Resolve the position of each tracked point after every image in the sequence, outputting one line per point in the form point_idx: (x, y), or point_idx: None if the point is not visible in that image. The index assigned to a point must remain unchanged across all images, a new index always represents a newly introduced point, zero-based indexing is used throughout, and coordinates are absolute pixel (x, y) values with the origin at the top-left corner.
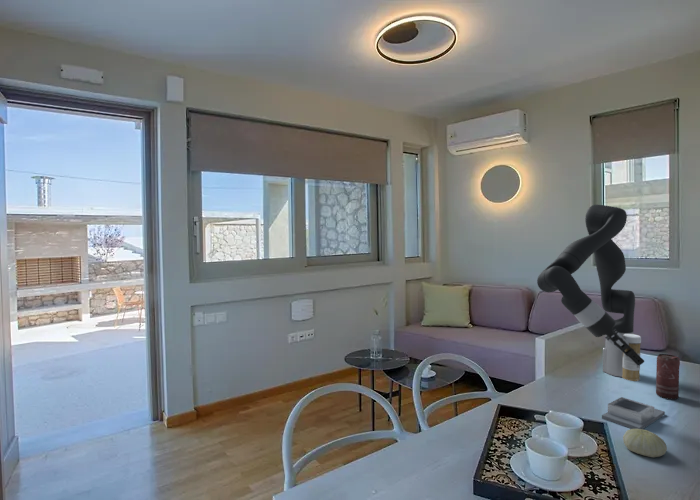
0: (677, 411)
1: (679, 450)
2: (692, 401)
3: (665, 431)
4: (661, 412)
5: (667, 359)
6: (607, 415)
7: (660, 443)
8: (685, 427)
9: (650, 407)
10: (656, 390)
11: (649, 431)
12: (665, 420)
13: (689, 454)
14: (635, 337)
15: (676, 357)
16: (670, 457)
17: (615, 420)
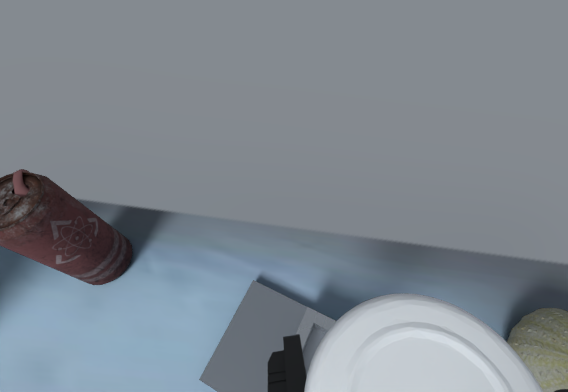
0: (216, 250)
1: (479, 279)
2: (133, 210)
3: (376, 295)
4: (264, 289)
5: (40, 206)
6: None
7: None
8: (319, 247)
9: (321, 319)
10: (95, 281)
11: (556, 347)
12: (296, 286)
13: (484, 261)
14: (532, 374)
15: (22, 175)
16: (542, 304)
17: None
